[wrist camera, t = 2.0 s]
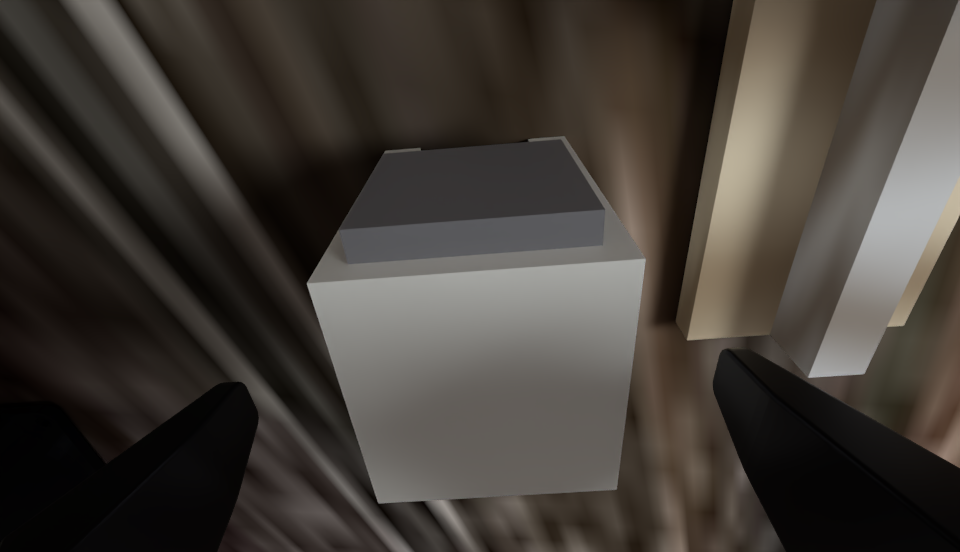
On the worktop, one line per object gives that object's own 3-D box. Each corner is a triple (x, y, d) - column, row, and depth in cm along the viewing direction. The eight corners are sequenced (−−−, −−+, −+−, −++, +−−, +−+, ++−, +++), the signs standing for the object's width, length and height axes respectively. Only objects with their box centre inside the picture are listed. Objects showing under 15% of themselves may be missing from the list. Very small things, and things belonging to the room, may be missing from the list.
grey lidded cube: (561, 299, 15) (616, 489, 9) (414, 310, 16) (378, 503, 10) (564, 113, 12) (650, 221, 6) (381, 129, 12) (294, 247, 6)
